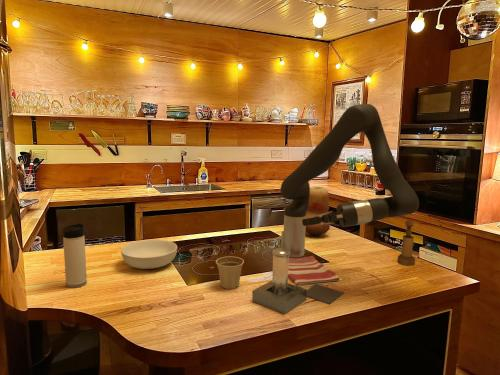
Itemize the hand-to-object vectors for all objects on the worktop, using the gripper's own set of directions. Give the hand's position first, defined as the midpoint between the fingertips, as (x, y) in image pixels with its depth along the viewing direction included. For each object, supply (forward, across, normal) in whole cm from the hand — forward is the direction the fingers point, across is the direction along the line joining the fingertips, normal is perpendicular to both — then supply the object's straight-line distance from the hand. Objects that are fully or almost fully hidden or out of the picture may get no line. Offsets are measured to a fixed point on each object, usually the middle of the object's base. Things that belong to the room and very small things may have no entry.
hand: (305, 222), depth 115 cm
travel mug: (+78, +12, -6) cm, 79 cm away
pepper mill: (-44, +33, -24) cm, 60 cm away
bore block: (+13, +1, -22) cm, 26 cm away
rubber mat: (-2, +5, -24) cm, 24 cm away
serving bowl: (+57, +30, -5) cm, 64 cm away
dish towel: (-1, +24, -19) cm, 30 cm away
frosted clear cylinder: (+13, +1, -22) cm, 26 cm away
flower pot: (+27, +11, -16) cm, 34 cm away
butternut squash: (-17, +70, -8) cm, 73 cm away
